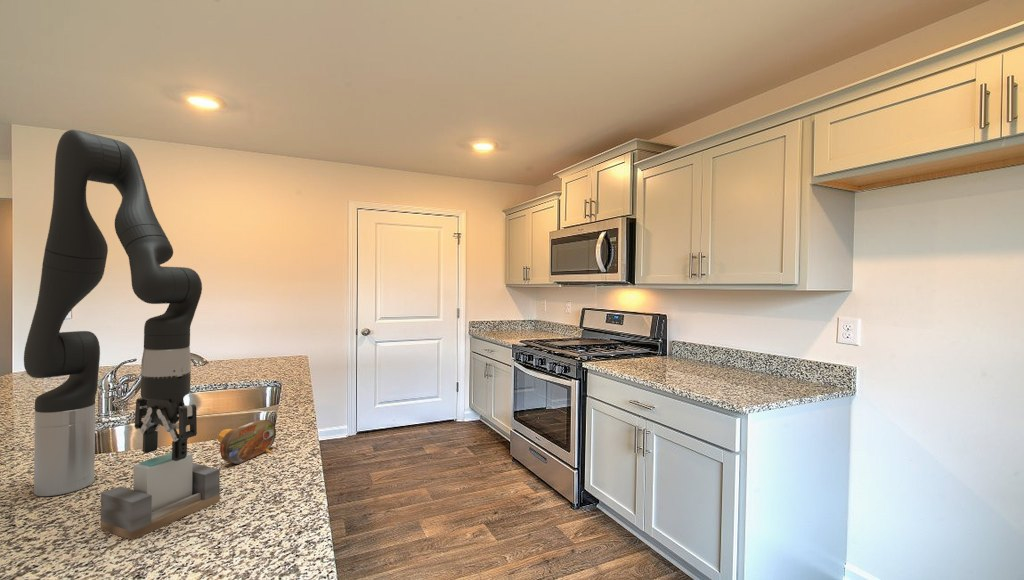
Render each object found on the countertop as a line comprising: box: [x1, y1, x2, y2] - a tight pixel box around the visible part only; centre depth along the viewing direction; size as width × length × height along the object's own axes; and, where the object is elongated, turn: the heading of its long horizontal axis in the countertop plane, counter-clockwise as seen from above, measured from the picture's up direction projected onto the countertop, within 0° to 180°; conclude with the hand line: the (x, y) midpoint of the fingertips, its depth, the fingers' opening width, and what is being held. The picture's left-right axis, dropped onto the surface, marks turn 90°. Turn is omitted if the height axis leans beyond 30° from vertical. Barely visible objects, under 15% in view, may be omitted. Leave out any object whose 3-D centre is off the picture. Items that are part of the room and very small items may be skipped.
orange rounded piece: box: [217, 428, 275, 454], centre depth 122 cm, size 20×4×4 cm, turn 68°
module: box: [132, 452, 194, 512], centre depth 86 cm, size 4×8×9 cm, turn 158°
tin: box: [219, 419, 277, 465], centre depth 115 cm, size 15×3×8 cm, turn 164°
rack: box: [100, 462, 221, 541], centre depth 86 cm, size 9×16×6 cm, turn 159°
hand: (164, 455), depth 86 cm, fingers open, 8 cm apart
